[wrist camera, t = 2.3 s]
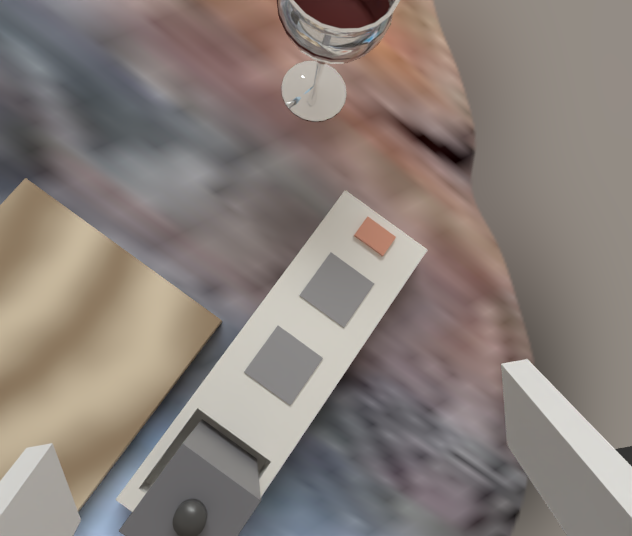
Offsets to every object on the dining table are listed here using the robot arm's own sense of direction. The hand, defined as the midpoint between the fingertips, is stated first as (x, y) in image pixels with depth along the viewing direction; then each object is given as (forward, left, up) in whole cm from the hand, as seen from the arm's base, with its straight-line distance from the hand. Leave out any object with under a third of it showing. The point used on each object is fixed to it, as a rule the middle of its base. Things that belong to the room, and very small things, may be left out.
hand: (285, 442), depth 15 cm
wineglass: (-10, +20, -21) cm, 31 cm away
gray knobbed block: (0, -6, -20) cm, 21 cm away
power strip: (0, +2, -20) cm, 21 cm away
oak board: (-13, -6, -20) cm, 25 cm away
